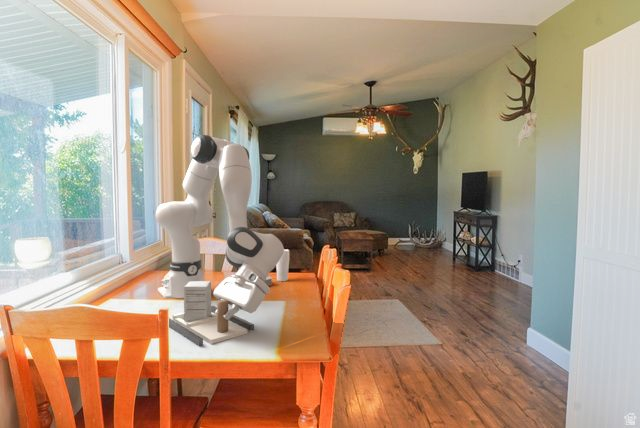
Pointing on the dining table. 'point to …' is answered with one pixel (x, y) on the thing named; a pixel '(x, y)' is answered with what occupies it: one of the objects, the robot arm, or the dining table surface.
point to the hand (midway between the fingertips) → (220, 316)
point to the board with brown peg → (212, 325)
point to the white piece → (283, 266)
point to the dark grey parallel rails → (199, 340)
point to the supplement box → (197, 300)
